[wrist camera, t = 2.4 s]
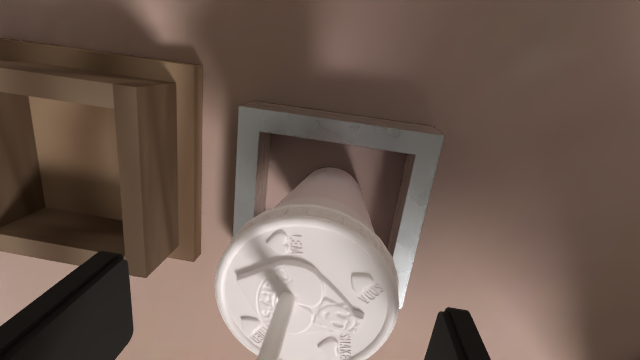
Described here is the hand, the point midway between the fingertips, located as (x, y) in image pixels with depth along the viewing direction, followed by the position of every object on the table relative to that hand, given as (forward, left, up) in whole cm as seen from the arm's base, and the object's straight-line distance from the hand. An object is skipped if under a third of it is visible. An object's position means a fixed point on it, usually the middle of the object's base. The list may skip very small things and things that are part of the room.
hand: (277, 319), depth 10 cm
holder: (-1, 0, -11) cm, 11 cm away
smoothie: (-1, 0, -11) cm, 11 cm away
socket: (+13, 0, -11) cm, 17 cm away
